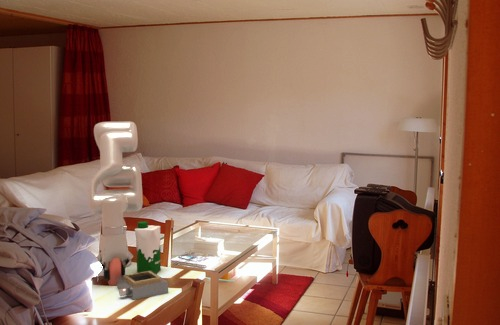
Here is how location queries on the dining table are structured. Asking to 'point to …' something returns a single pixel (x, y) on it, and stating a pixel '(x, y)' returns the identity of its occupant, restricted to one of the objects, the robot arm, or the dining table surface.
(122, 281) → the grey square socket base
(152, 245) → the milk carton
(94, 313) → the dining table surface
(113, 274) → the oil can
